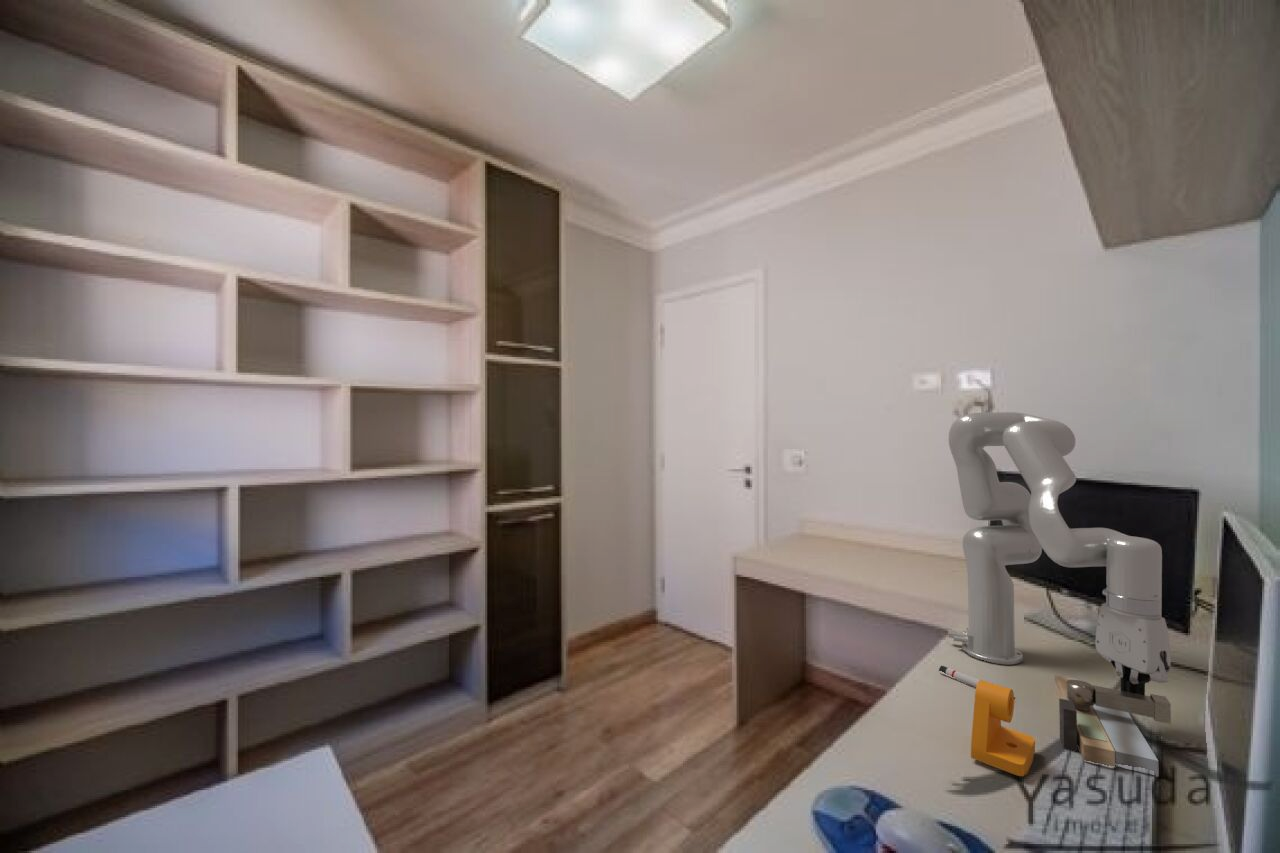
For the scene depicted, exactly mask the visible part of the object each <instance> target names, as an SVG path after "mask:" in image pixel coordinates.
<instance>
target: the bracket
mask: <svg viewBox="0 0 1280 853" xmlns="http://www.w3.org/2000/svg"><path fill="white" fill-rule="evenodd" d="M1014 697H1015V694H1014V689H1012V688H1009V687H1006V686H1005V687H1004V686H1002V685H1000V684H999V685H998V684H995V683H992V682H988V681H984V680H982V679H979V681H978V683H977V686H976V688H975V693H974V705H973V717H972V729H971V741H970V758H971V759H973V760H976V761H979V762H982V763H984V764H987V765H989V766H992V767H994V768H997V769H999V770H1002V771H1004V772H1007V773H1010V774H1013V775H1015V776H1018V777H1024V776H1027V775H1028V773H1029V771H1030V768H1031V765H1032V764H1033V761H1034V754H1035V752H1036V739H1035V737H1033V736H1032V735H1029V734H1026V733H1023V732H1020V731H1018V730H1014V729H1011V728H1010V727H1009V728H1008V727H1005V726H1003V725H1002V721H1003V722H1004V723H1008V724H1010V723H1012V720H1013V716H1014V709H1015V699H1014Z"/></svg>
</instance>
